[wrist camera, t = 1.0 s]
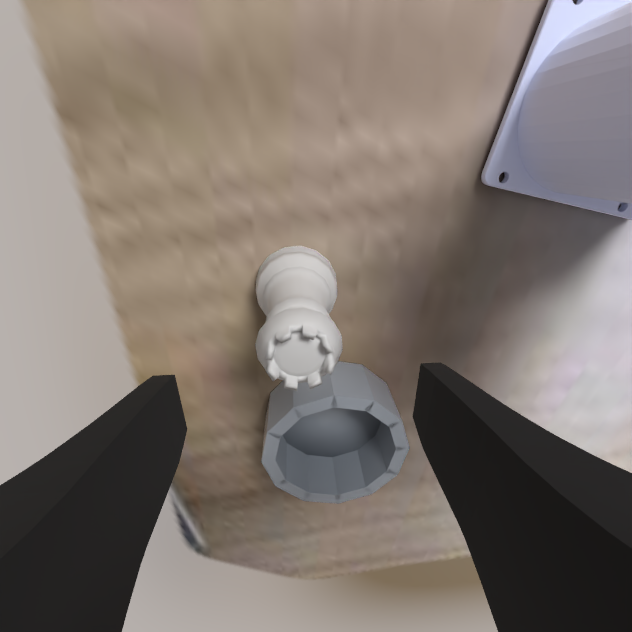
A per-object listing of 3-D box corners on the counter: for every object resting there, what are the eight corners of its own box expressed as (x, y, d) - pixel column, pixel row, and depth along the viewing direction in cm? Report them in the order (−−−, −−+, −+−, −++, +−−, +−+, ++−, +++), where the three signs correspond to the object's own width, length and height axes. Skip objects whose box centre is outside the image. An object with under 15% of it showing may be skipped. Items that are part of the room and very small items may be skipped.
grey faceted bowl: (408, 371, 22) (427, 407, 19) (372, 463, 26) (383, 506, 23) (277, 352, 21) (275, 388, 18) (259, 452, 24) (254, 497, 21)
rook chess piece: (323, 232, 18) (346, 286, 11) (344, 306, 20) (375, 393, 13) (244, 257, 18) (213, 325, 11) (272, 327, 20) (261, 424, 13)
